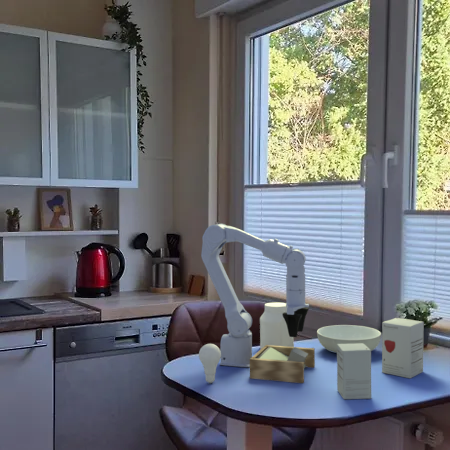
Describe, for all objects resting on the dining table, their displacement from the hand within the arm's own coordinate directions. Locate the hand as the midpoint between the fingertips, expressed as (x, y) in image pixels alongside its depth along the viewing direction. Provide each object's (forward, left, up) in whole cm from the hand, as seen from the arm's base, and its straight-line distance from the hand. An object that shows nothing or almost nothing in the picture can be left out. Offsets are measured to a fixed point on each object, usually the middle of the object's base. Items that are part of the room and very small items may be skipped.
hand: (296, 333), depth 178 cm
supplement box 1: (+20, -21, -10) cm, 31 cm away
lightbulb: (-19, -23, -10) cm, 32 cm away
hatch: (-3, -7, -7) cm, 11 cm away
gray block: (+1, -7, -8) cm, 11 cm away
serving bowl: (+13, +22, -10) cm, 27 cm away
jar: (-11, +20, -10) cm, 25 cm away
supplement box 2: (+31, +3, -10) cm, 33 cm away
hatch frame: (-2, -7, -10) cm, 12 cm away
